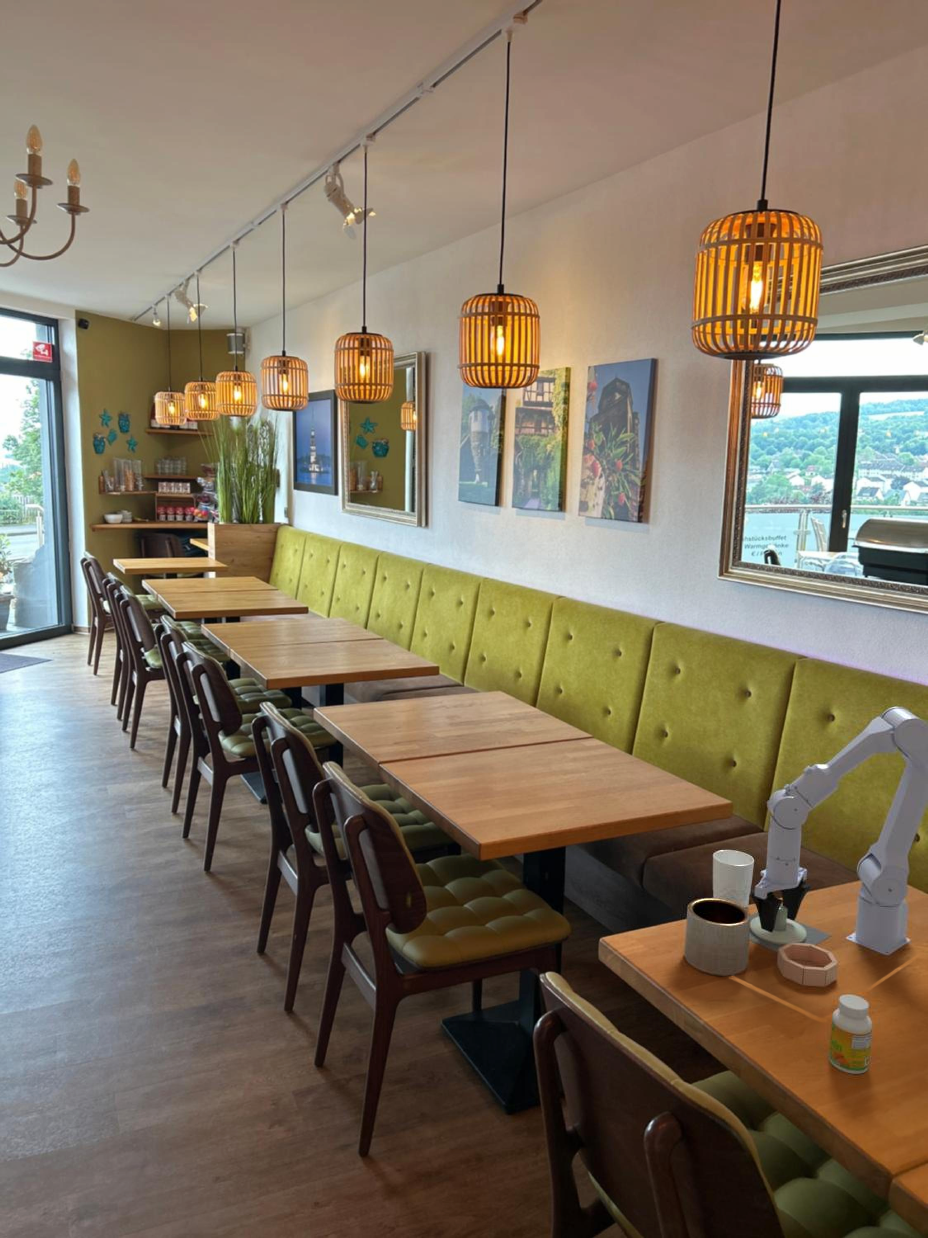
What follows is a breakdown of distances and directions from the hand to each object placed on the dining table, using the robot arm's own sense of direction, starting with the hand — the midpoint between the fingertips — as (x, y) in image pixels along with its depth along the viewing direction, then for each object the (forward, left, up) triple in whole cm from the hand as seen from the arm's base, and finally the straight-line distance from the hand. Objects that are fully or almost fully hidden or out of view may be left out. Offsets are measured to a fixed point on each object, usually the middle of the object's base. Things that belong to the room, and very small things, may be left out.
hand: (778, 924), depth 170 cm
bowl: (+9, +11, -2) cm, 14 cm away
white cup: (-4, -13, -2) cm, 14 cm away
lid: (0, 0, -2) cm, 2 cm away
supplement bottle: (+27, +28, -2) cm, 39 cm away
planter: (+18, -1, -2) cm, 18 cm away
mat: (0, 0, -2) cm, 2 cm away
